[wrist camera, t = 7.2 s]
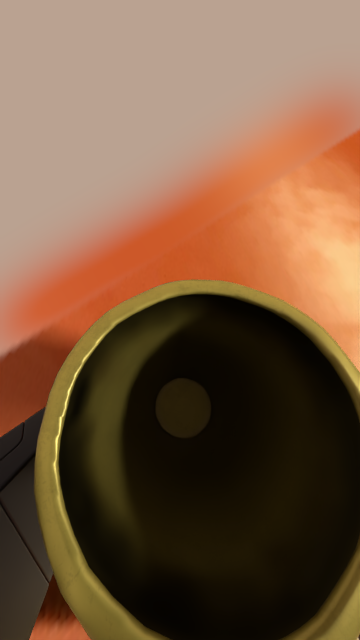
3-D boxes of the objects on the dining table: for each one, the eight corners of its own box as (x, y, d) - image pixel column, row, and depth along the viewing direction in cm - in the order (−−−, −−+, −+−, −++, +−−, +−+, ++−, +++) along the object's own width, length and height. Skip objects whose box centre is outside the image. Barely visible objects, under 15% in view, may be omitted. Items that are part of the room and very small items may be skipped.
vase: (148, 365, 17) (63, 248, 4) (220, 369, 17) (367, 266, 4) (139, 448, 15) (-118, 780, 2) (222, 454, 15) (556, 828, 2)
